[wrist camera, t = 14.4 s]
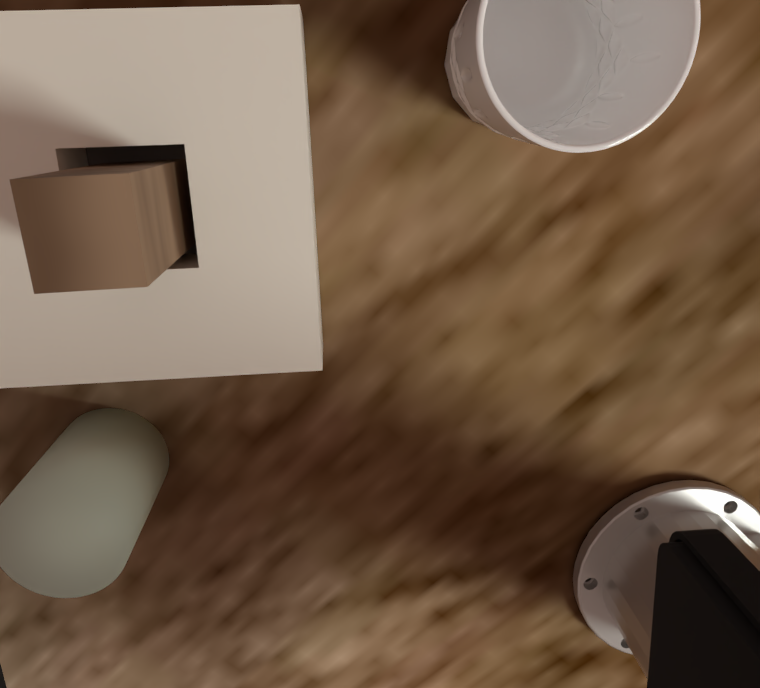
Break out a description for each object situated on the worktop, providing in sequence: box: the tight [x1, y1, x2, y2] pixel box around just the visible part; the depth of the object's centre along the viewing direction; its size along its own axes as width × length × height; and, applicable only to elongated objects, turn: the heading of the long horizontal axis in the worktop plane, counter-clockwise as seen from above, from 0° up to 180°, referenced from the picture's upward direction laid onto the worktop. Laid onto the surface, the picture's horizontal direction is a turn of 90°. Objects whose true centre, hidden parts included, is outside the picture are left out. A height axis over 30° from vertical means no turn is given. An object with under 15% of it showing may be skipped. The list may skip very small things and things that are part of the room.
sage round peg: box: [0, 408, 169, 598], centre depth 34 cm, size 6×6×8 cm
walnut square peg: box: [9, 159, 196, 294], centre depth 28 cm, size 4×4×10 cm
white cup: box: [444, 0, 701, 153], centre depth 28 cm, size 8×8×10 cm
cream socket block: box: [0, 4, 323, 388], centre depth 31 cm, size 16×16×4 cm
